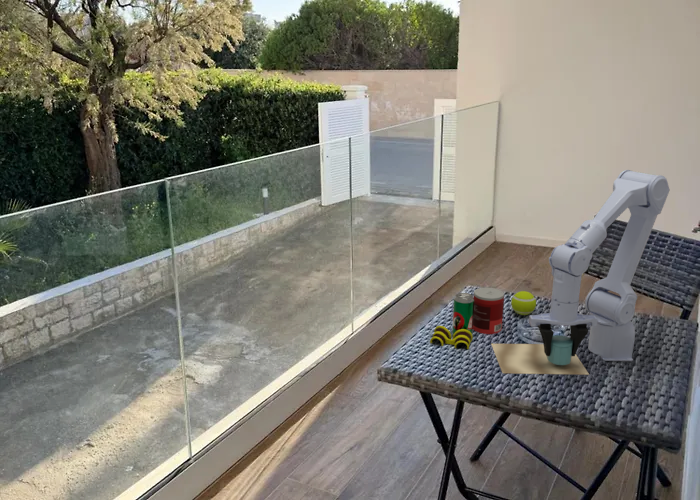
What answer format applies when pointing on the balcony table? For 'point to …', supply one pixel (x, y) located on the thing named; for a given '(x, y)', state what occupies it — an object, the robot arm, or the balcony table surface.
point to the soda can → (463, 312)
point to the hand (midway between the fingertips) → (559, 354)
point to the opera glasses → (458, 336)
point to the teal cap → (560, 350)
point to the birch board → (532, 360)
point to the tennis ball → (523, 303)
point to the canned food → (488, 310)
